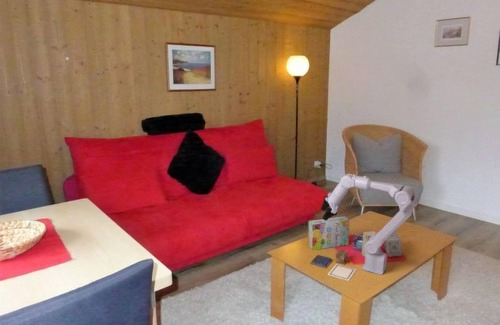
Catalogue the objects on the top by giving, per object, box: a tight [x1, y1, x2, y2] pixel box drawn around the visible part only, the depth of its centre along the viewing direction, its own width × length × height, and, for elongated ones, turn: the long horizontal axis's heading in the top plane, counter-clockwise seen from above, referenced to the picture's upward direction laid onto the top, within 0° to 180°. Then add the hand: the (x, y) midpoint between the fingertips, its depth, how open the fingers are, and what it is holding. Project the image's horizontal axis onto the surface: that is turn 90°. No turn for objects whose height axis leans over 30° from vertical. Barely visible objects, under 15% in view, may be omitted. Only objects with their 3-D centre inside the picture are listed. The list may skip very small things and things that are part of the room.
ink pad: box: [309, 254, 333, 269], centre depth 183 cm, size 8×9×1 cm
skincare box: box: [361, 230, 377, 257], centre depth 187 cm, size 6×4×12 cm
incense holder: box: [382, 230, 403, 258], centre depth 189 cm, size 10×8×10 cm
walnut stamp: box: [335, 248, 348, 265], centre depth 183 cm, size 4×5×5 cm
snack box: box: [308, 216, 350, 251], centre depth 198 cm, size 21×6×15 cm, turn 104°
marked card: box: [327, 263, 357, 282], centre depth 173 cm, size 10×11×1 cm
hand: (323, 214), depth 184 cm, fingers open, 7 cm apart
